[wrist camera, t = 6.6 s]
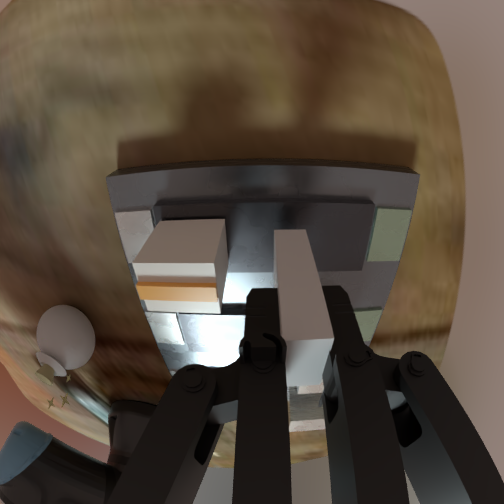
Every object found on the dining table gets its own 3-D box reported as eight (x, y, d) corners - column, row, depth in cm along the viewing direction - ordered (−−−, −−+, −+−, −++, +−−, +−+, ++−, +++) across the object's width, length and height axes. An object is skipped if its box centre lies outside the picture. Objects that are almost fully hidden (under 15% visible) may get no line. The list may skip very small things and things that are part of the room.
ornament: (89, 293, 21) (37, 385, 12) (118, 347, 25) (87, 430, 16) (46, 289, 21) (-5, 365, 12) (75, 340, 25) (42, 412, 16)
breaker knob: (168, 263, 16) (146, 315, 12) (159, 220, 14) (129, 267, 11) (228, 263, 16) (219, 318, 12) (224, 218, 14) (212, 267, 11)
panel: (183, 385, 28) (174, 434, 23) (117, 169, 15) (57, 213, 10) (342, 384, 27) (351, 432, 22) (408, 167, 14) (468, 209, 9)
